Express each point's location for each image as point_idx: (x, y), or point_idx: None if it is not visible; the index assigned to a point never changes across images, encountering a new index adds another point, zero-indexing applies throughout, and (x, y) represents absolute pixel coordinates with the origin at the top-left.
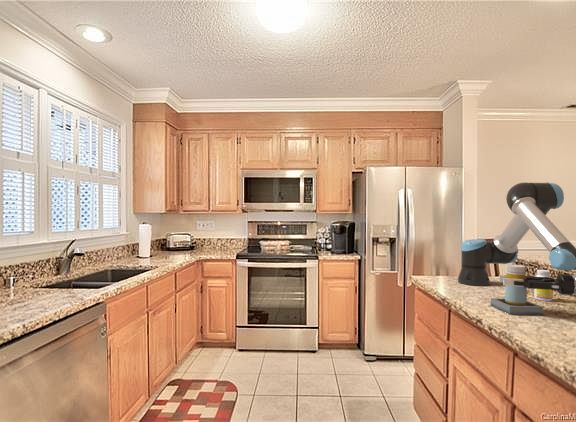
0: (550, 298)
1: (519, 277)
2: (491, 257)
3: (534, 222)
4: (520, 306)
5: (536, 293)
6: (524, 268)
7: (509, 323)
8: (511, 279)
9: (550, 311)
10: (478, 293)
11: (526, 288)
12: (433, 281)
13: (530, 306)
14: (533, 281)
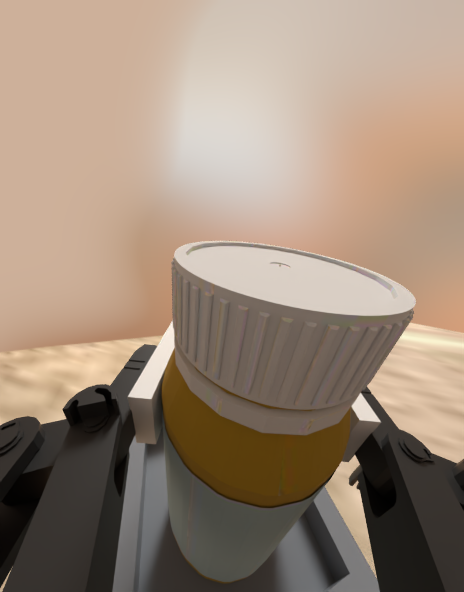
0: None
1: (169, 359)
2: None
3: None
4: (129, 477)
5: None
6: (204, 311)
7: (29, 392)
8: (170, 328)
9: None
10: (435, 407)
11: (201, 528)
12: (443, 333)
13: (118, 589)
14: (7, 582)
